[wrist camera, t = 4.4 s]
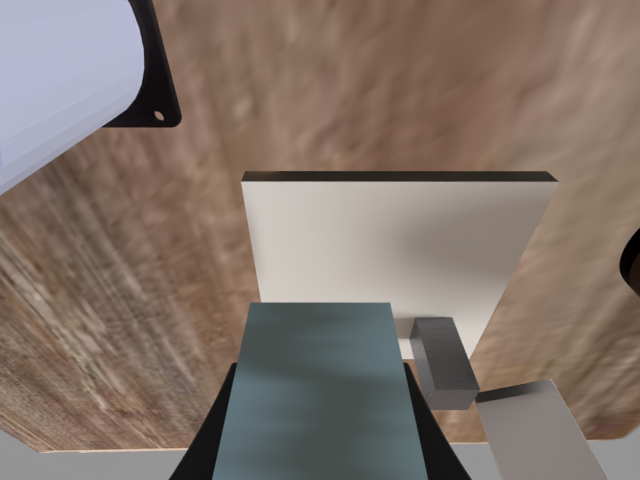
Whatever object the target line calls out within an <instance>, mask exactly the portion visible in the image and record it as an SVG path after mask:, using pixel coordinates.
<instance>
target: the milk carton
mask: <svg viewBox="0 0 640 480" xmlns="http://www.w3.org/2000/svg"><path fill="white" fill-rule="evenodd" d="M474 401H475V404H476V407H477V411H478V414H479V417H480V420H481V423H482V426H483V428H484V431H485V434H486V437H487V439H488V442H489V445H490V448H491V450H492V453H493V456H494V459H495V462H496V464H497V467H498V470H499V473H500V475H501V478H502V480H609V478H608V477H607V475H606V473H605V471H604V470H603V468H602V466H601V464H600V463H599V461H598V459H597V458H596V456H595V454H594V452H593V451H592V449H591V447H590V445H589V444H588V442H587V440H586V438H585V437H584V435H583V433H582V431H581V430H580V428H579V426H578V425H577V423H576V421H575V419H574V418H573V416H572V414H571V412H570V411H569V409H568V407H567V405H566V404H565V402H564V400H563V398H562V397H561V395H560V393H559V391H558V390H557V388H556V386H555V385H554V383H553V381H552V379H546V380H541V381H535V382H530V383H525V384H520V385H514V386H509V387H504V388H499V389H494V390H488V391H483V392H479V393H478V394H477V396H476V398H475V399H474Z"/></svg>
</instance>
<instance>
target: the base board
mask: <svg viewBox="0 0 640 480" xmlns="http://www.w3.org/2000/svg"><path fill="white" fill-rule="evenodd" d="M559 183H560V182H559V181H558V180H557V179H555V178H554V177H553V176H552V175H551V174H550V173H548V172H547V171H245V173H244V175H243V178H242V181H241V185H242V191H243V197H244V203H245V209H246V215H247V221H248V227H249V233H250V239H251V245H252V250H253V256H254V262H255V268H256V274H257V280H258V286H259V292H260V298H261V302H390V304H391V309H392V314H393V318H394V323H395V328H396V332H397V337H398V342H399V346H400V351H401V356H402V359H414V357H413V353H412V349H411V345H410V341H409V338H410V335H411V331H412V328H413V324H414V321H415V317H452V318H453V320H454V323H455V326H456V328H457V331H458V333H459V336H460V338H461V341H462V344H463V346H464V349H465V351H466V354H467V357H468V359H470V357H471V355H472V353H473V351H474V349H475V347H476V345H477V343H478V341H479V339H480V337H481V335H482V333H483V331H484V329H485V328H486V326H487V324H488V322H489V320H490V318H491V316H492V314H493V312H494V310H495V308H496V306H497V304H498V302H499V300H500V298H501V296H502V294H503V292H504V290H505V288H506V286H507V284H508V282H509V280H510V279H511V277H512V275H513V273H514V271H515V269H516V267H517V265H518V263H519V261H520V259H521V257H522V255H523V253H524V251H525V249H526V247H527V245H528V243H529V241H530V239H531V237H532V235H533V233H534V232H535V230H536V228H537V226H538V224H539V222H540V220H541V218H542V216H543V214H544V212H545V210H546V208H547V206H548V204H549V202H550V200H551V198H552V196H553V194H554V192H555V190H556V188H557V186H558V184H559Z"/></svg>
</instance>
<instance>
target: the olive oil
mask: <svg viewBox="0 0 640 480" xmlns="http://www.w3.org/2000/svg"><path fill="white" fill-rule="evenodd" d="M619 270H620V274H621V276H622V278H623V279H624V281H625V282H626V283H627V284H628V286H629V287H630V288H631V289H632V290H633V291H634V292H635V293H636V294H637V295H638V296H639V297H640V228H639V229H638V230H637V231H636V232H635V233H634V234H633V236H632V237H631V238H630V240H629V241H628V243H627V244H626V246H625V248H624V250H623V252H622V255H621V258H620V262H619Z"/></svg>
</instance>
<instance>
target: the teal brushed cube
mask: <svg viewBox="0 0 640 480" xmlns="http://www.w3.org/2000/svg"><path fill="white" fill-rule="evenodd" d="M212 480H428V477H427V472H426V468H425V463H424V458H423V454H422V449H421V444H420V440H419V435H418V430H417V426H416V421H415V416H414V412H413V407H412V402H411V398H410V393H409V388H408V384H407V379H406V374H405V370H404V365H403V360H402V356H401V351H400V346H399V342H398V337H397V332H396V328H395V323H394V318H393V314H392V309H391V304H390V302H250V306H249V311H248V316H247V320H246V325H245V330H244V334H243V339H242V344H241V348H240V353H239V357H238V362H237V367H236V371H235V376H234V381H233V385H232V390H231V395H230V399H229V404H228V409H227V413H226V418H225V423H224V427H223V432H222V437H221V441H220V446H219V451H218V455H217V460H216V464H215V469H214V474H213V478H212Z"/></svg>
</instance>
